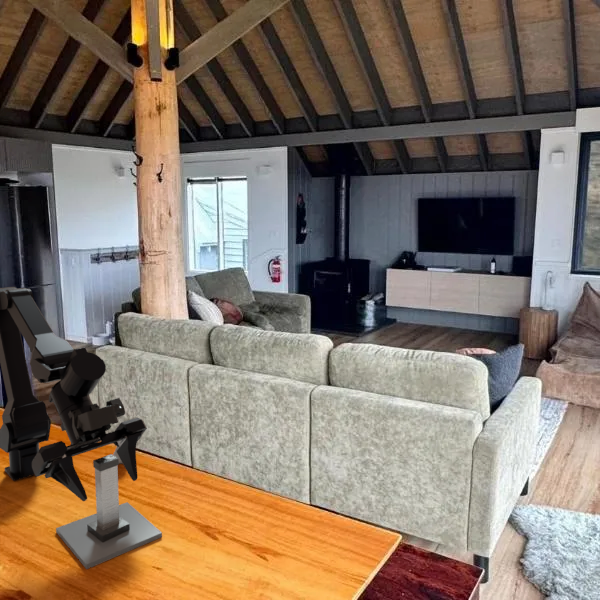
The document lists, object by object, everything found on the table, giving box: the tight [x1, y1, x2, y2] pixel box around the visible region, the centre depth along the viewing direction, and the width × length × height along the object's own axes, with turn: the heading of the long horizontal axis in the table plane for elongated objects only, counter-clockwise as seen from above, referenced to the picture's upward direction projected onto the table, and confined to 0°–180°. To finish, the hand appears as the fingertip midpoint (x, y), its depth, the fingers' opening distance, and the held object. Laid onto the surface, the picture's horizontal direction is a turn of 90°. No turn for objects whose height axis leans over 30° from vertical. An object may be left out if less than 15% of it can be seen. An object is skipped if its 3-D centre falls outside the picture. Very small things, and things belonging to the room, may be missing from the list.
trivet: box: [55, 501, 163, 570], centre depth 95 cm, size 13×13×1 cm
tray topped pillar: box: [87, 453, 130, 543], centre depth 93 cm, size 5×5×13 cm
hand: (111, 489), depth 92 cm, fingers open, 9 cm apart
